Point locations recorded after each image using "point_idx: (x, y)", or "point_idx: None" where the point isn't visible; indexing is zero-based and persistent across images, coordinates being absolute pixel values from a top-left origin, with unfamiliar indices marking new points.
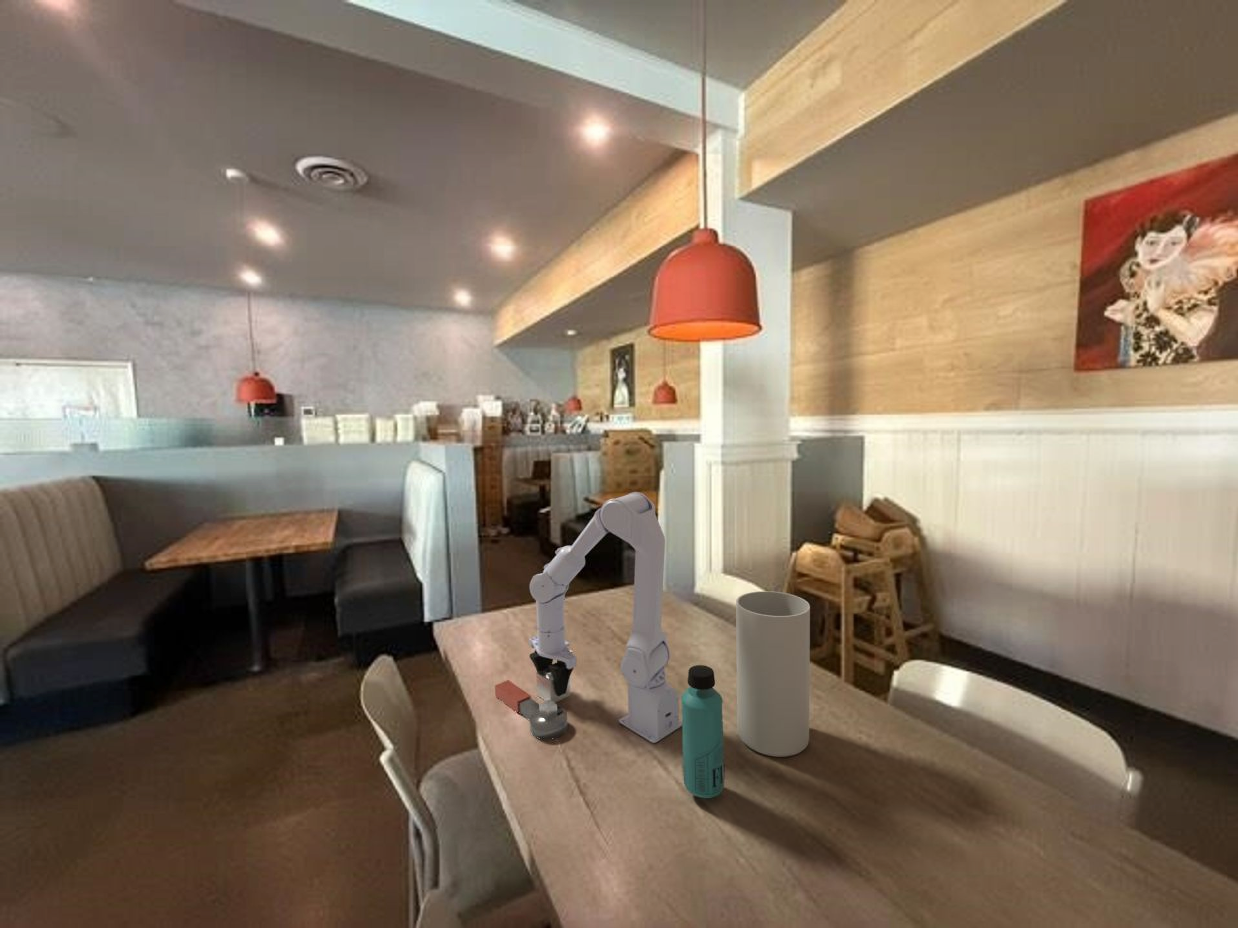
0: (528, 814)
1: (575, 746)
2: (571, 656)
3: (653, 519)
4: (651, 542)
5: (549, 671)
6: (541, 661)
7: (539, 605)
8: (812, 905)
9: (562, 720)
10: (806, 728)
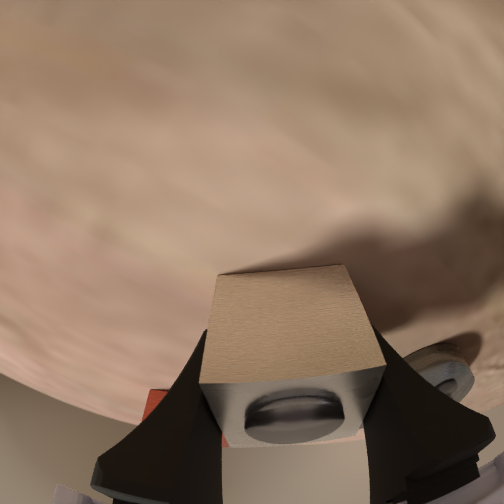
0: (480, 410)
1: (494, 348)
2: (501, 497)
3: None
4: None
5: (279, 434)
6: (215, 481)
7: None
8: None
9: (470, 385)
10: None
